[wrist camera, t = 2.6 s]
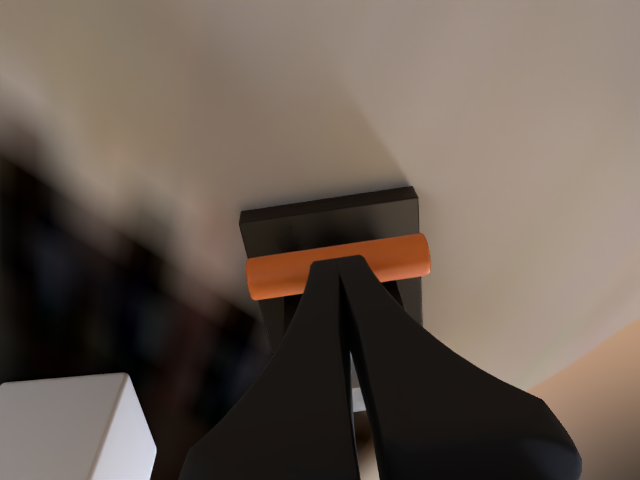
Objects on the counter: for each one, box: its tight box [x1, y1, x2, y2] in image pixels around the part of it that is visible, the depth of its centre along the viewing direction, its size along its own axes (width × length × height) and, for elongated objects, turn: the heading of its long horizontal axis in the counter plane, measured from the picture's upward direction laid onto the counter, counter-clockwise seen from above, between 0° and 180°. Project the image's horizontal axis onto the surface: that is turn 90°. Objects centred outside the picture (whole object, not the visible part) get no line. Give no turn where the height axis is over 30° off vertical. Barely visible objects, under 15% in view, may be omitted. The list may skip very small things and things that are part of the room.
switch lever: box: [246, 233, 431, 412], centre depth 18 cm, size 10×5×2 cm, turn 9°
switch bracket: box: [239, 186, 423, 356], centre depth 22 cm, size 10×8×8 cm
